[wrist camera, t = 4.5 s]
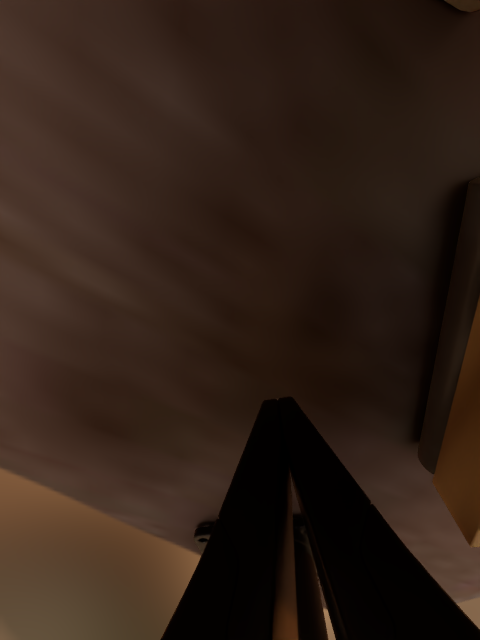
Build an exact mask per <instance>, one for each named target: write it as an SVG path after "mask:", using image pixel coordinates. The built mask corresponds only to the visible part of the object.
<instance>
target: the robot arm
mask: <svg viewBox="0 0 480 640" xmlns="http://www.w3.org/2000/svg"><path fill="white" fill-rule="evenodd" d="M289 468H290V469H289ZM290 473H291V476H290ZM291 478H292V482H293V486H294V490H295V493H296V497H297V501H298V504H299V508H300V511H301V515H302V518H299V519H293V513H292V491H291ZM218 517H219V519H220V520H219V519H217V520H216V522H215V524H214V526H207V527H199V528H197V529H196V530H195V535H194V541H195V543H196V545H197V546H198V548H199V549H200V551H201V553H202V556H201V558H200V561H199V563H198V565H197V567H196V570H195V572H194V574H193V576H192V578H191V580H190V582H189V584H188V586H187V588H186V590H185V592H184V595H183V596H182V598H181V600H180V602H179V604H178V606H177V608H176V610H175V612H174V614H173V616H172V618H171V620H170V622H169V624H168V626H167V628H166V630H165V632H164V634H163V636H162V638H161V640H328V634H327V629H326V623H325V618H324V612H323V606H322V601H321V595H320V589H319V584H318V577H319V580H320V584H321V587H322V591H323V595H324V598H325V602H326V605H327V609H328V612H329V616H330V620H331V623H332V627H333V630H334V634H335V638H336V640H480V629H478V627H477V626H476V625H475V624H474V623H473V622H472V621H471V620H470V618H469V617H468V616H467V615H466V614H465V613H464V612H463V611H462V610H461V609H460V607H459V606H458V605H457V604H456V603H455V602H454V601H453V600H452V598H451V597H450V596H449V595H448V594H447V593H446V592H445V591H444V590H443V588H442V587H441V586H440V585H439V584H438V583H437V582H436V581H435V580H434V578H433V577H432V576H431V575H430V574H429V573H428V572H427V570H426V569H425V568H424V567H423V566H422V565H421V563H420V562H419V561H418V560H417V559H416V558H415V557H414V555H413V554H412V553H411V552H410V551H409V550H408V548H407V547H406V546H405V545H404V543H403V542H402V541H401V540H400V538H399V537H398V536H397V535H396V533H395V532H394V531H393V530H392V528H391V527H390V526H389V524H388V523H387V522H386V521H385V519H384V518H383V517H382V515H381V514H380V513H379V511H378V510H377V509H376V507H375V506H374V505H373V504H371V501H370V500H369V498H368V497H367V496H366V494H365V493H364V492H363V490H362V489H361V488H360V486H359V485H358V484H357V482H356V481H355V480H354V478H353V477H352V476H351V474H350V473H349V472H348V470H347V469H346V468H345V466H344V465H343V464H342V462H341V461H340V460H339V458H338V457H337V456H336V454H335V453H334V452H333V450H332V449H331V448H330V446H329V445H328V444H327V442H326V441H325V440H324V439H323V437H322V436H321V435H320V433H319V432H318V431H317V429H316V428H315V427H314V425H313V424H312V423H311V421H310V420H309V419H308V417H307V416H306V415H305V413H304V412H303V411H302V409H301V408H300V407H299V405H298V404H297V403H296V401H295V400H294V399H293V398H292V397H283V398H279V399H278V400H277V399H268V400H264V401H263V403H262V405H261V408H260V410H259V413H258V415H257V418H256V421H255V423H254V426H253V428H252V431H251V433H250V436H249V438H248V441H247V443H246V446H245V448H244V451H243V454H242V456H241V459H240V461H239V464H238V466H237V469H236V471H235V474H234V476H233V479H232V482H231V484H230V487H229V489H228V492H227V494H226V497H225V499H224V502H223V504H222V507H221V510H220V512H219V515H218Z"/></svg>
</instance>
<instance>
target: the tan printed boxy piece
mask: <svg viewBox="0 0 480 640" xmlns="http://www.w3.org/2000/svg"><path fill="white" fill-rule="evenodd" d="M444 1H446V2H447V3H449V4H451V5H452V6H454V7H456V8H457V9H459V10H461V11H467V12H474V11H476V10H479V9H480V0H444Z"/></svg>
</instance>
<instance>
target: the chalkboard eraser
mask: <svg viewBox="0 0 480 640" xmlns="http://www.w3.org/2000/svg"><path fill="white" fill-rule="evenodd" d="M418 458H419V460H420V462H421V463H422V465H423V466H424V467H425V468H426V469H427V470H428V471H429V472H431V473H432V474H434V477H433V481H432V482H433V484H434V486H435V488H436V489H437V491H438V493H439V494H440V496H441V498H442V499H443V501H444V503H445V505H446V506H447V508H448V510H449V511H450V513H451V515H452V516H453V518H454V520H455V522H456V523H457V525H458V527H459V528H460V530H461V532H462V533H463V535H464V537H465V539H466V540H467V542H468V544H469V545H470V547H480V177H478V178H476V179H473V180H471V181H470V183H469V185H468V190H467V195H466V201H465V206H464V211H463V216H462V222H461V227H460V232H459V238H458V243H457V248H456V253H455V259H454V264H453V269H452V274H451V280H450V285H449V290H448V295H447V301H446V306H445V311H444V317H443V322H442V327H441V332H440V338H439V343H438V348H437V353H436V359H435V364H434V369H433V374H432V380H431V385H430V390H429V395H428V401H427V406H426V411H425V417H424V422H423V427H422V432H421V438H420V443H419V448H418Z"/></svg>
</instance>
